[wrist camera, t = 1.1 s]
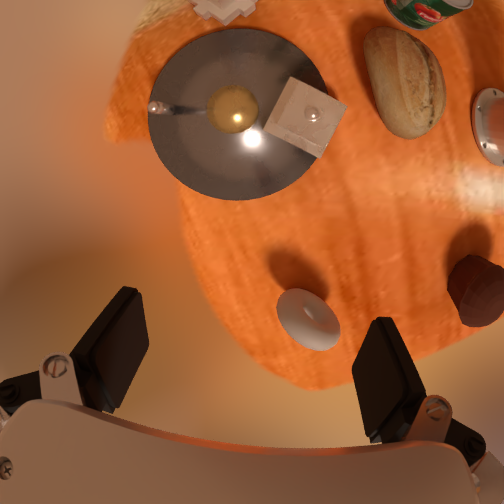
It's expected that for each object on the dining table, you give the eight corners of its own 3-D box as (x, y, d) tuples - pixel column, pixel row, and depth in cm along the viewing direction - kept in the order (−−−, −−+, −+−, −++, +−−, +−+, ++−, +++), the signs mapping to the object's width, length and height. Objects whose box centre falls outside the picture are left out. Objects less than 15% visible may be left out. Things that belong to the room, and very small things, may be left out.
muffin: (429, 293, 38) (456, 331, 29) (464, 237, 34) (500, 265, 25) (465, 311, 39) (490, 344, 30) (496, 262, 35) (527, 290, 26)
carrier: (237, 4, 23) (226, -29, 15) (363, 118, 29) (392, 116, 21) (122, 122, 31) (83, 125, 23) (237, 232, 36) (227, 262, 28)
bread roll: (405, 32, 23) (432, 15, 15) (435, 133, 28) (469, 138, 21) (342, 35, 24) (359, 12, 17) (375, 143, 30) (402, 147, 23)
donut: (271, 289, 40) (270, 336, 31) (285, 272, 38) (288, 316, 29) (324, 319, 41) (334, 366, 32) (338, 304, 40) (352, 350, 31)
